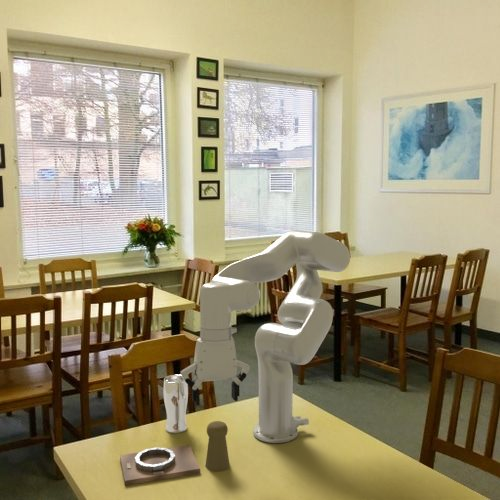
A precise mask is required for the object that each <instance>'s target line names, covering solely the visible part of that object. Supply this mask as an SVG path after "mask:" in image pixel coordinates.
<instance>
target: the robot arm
mask: <svg viewBox="0 0 500 500" xmlns="http://www.w3.org/2000/svg"><path fill="white" fill-rule="evenodd" d="M350 261H351V253H350V250H349V248H348V246H347V245H346V244H344V243H343V242H341V241H339V240H337V239H335V238H333V237H331V236H328V235H326V234H324V233H322V232H317V231H310V230H309V231H308V230H305V231H304V230H290V231H288V232H286V233H284V234H282V235H281V236H280V237H279V238H278V239H276V240H275V241H274V242H272V244H270V245H268V247H266V248H265V249H264V250H263V251H261V252H260V253H257V254H254V255H252V256H249V257H246V258H243V259H240V260H238V261H235V262H233V263H230V264H229V265H227V266H225V268H224V269H222V270H221V271H220V272H218V273H217V274H216V275H214V277H213V278H212V279H211V280H210V282H207V283H204V284H203V285H201V287H200V290H199V302H200V304H199V312H200V313H199V314H200V315H199V316H200V317H199V318H200V320H199V322H200V325H199V327H200V330H199V336H200V337H199V338H197V339H196V343H195V349H194V356H193V357H194V358H193V359H194V361H193V363H192V364H190V365H188V366H186V367H185V368H184V369H182V370H180V375H182V377H183V378H184V380H185V382H186V383H187V384H188V387H190V388H191V400H192V402H194V404H195V406H199V405H200V401H201V400H200V389H199V387H200V385H201V384H202V383H203V382H214V381H222V380H232V381H231V398H232V400H234V401H235V402H237V401H238V398H239V397H240V385H242V382H243V381H244V380H245V379H246V378H247V375H248V373H249V371H250V369H251V366H250V365H249V364H248V363H245V362H243V361H241V360H238V359H237V351H236V346H235V345H236V344H235V339H234V337H233V334H237V332H238V329H237V327H236V326H235V327H233V326H232V312H233V311H235V312H236V311H237V312H238V311H248V310H251V309H253V308H254V307H256V306H257V305H258V304H259V302H260V300H261V290H260V288H259V287H258V285H257V284H258V283H260V284H261V283H267V282H273V281H275V280H276V281H277V280H278V279H280V278H282V277H283V276H284V275H286V273H287V272H288V271H290V269H292V268H293V267H294V266H296V267H295V268H296V279H295V282H294V283H293V285H292V287H291V288H290V290H289V291H288V292H287V293H288V294H287V295H286V296H285V298H284V299H283V301H282V302H281V304H280V306H279V308H278V310H277V319H278V322H280V323H276V322H268V323H264V324H262V325H260V327H259V328H258V329H257V331H256V332H255V336H254V347H255V352H256V356H257V366H258V423H257V424H255V426H254V427H253V432H252V434H253V436H254V437H255V438H256V439H257V440H259V441H262V442H265V443H268V444H269V443H270V444H284V443H288V442H291V441H293V440H295V439H296V438H297V436H298V435H299V429H298V428H299V426H307V425H310V424H309V422H310V421H309V418H308V417H303V418H302V417H301V415H295V416H294V415H293V399H294V398H293V393H294V392H293V389H294V387H293V385H294V384H293V383H294V382H293V381H294V380H293V379H294V378H293V376H294V375H293V369H292V366H291V364H294V365H298V366H299V365H301V366H302V365H303V366H304V365H307V364H308V363H310V362H311V361H312V359H313V358H314V357H315V355H316V353H317V352H318V350H319V349H320V347H321V345H322V343H323V342H324V341H325V338H326V336H327V334H328V333H329V331H330V329H331V327H332V323H333V318H334V310H333V307H332V305H331V303H330V302H328V301H327V300H325V299H323V298H321V296H322V293H323V284H322V280H321V278H320V275H319V272H318V271H323V272H331V273H341V272H343V271H345V270H346V269H347V268H348V267H349V265H350ZM238 368H241V371H240V372H239V373H238ZM192 372H193V374H194V377H193V379H191V378H190V377H189V374H191V373H192Z"/></svg>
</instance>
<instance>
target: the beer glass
mask: <svg viewBox="0 0 500 500" xmlns="http://www.w3.org/2000/svg"><path fill="white" fill-rule="evenodd" d="M188 399H189V385H188V384H187V383H186V382H185V380H184V378H183V377H182V375H181V374H171V375H167V376H165V377H164V378H163V401H164V406H165V411H166V412H165V413H166V425H165V430H166V431H167V432H168V433H170V434H180V433H183V432H185V431H186V430H187V429H188V425H187V420H186V415H187V407H188V406H187V405H188V401H189V400H188Z"/></svg>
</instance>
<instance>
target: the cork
mask: <svg viewBox="0 0 500 500" xmlns="http://www.w3.org/2000/svg"><path fill="white" fill-rule="evenodd" d="M228 431H229V430H228V426H227V423H225V422H223V421H220V420H216V421H215V420H213V421H211V422H209V423H208V425H207V427H206V434H207V436H208V443H207V451H206V457H205V467H206V469H207V470H209V471H212V472H222V471H226V470H227V469H229V467H230V466H231V463H230V459H229V458H230V457H229V453H228V452H229V451H228V444H227V437H226V436H227V434H228Z"/></svg>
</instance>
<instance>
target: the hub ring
mask: <svg viewBox="0 0 500 500" xmlns="http://www.w3.org/2000/svg"><path fill="white" fill-rule="evenodd" d="M166 448H167V447H160V446H159V447H158V446H156V447H150V448H146V449H144V450H142V451H139V453H138V452H137V453H138V454H137V455H136V457H135V465H136V468H137V469H139V470H141V471H143V472H160V471H164V470H166V469H168V468H170V467H172V466H173V464H174V463H175V455H174V452H173V451H171V450H169V449H166ZM152 455H165V456H167V457H169V460H167V461H165V462H163V463H160V464H145V463H143V462H141V460H142V459H143V458H146V457H148V456H152Z"/></svg>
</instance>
